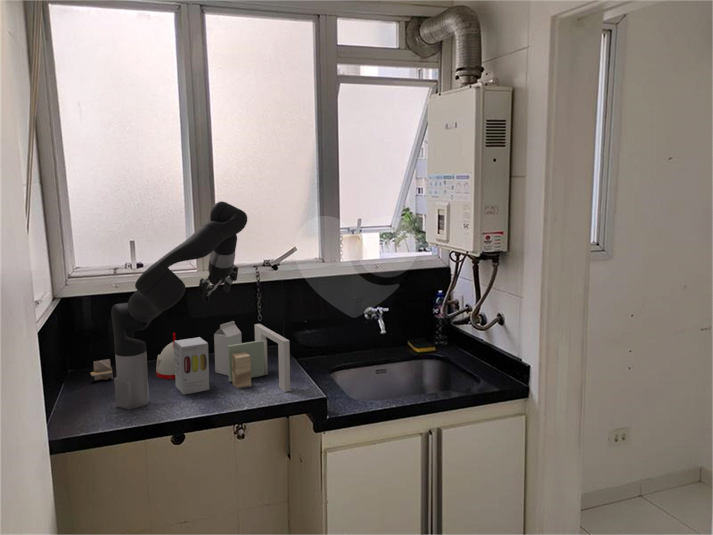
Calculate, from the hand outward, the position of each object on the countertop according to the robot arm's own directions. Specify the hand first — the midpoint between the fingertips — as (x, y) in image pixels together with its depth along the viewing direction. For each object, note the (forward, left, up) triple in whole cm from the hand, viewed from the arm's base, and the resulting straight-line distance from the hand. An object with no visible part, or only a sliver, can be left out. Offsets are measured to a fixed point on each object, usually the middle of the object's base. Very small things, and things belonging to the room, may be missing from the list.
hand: (216, 296), depth 185 cm
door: (+17, +1, -33) cm, 37 cm away
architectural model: (-9, +47, -35) cm, 59 cm away
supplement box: (0, +12, -34) cm, 36 cm away
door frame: (+19, -8, -34) cm, 40 cm away
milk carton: (+19, +12, -34) cm, 41 cm away
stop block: (+10, -1, -34) cm, 35 cm away
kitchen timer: (+9, +29, -34) cm, 46 cm away
